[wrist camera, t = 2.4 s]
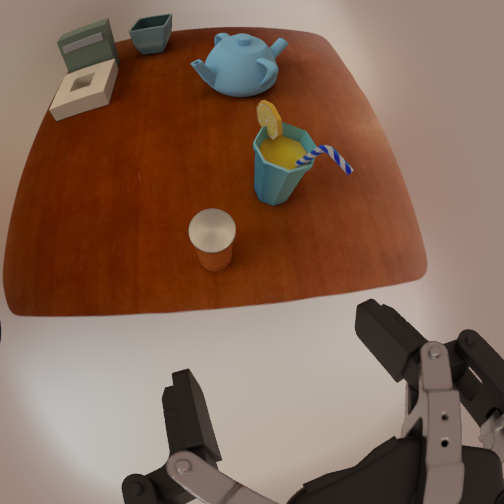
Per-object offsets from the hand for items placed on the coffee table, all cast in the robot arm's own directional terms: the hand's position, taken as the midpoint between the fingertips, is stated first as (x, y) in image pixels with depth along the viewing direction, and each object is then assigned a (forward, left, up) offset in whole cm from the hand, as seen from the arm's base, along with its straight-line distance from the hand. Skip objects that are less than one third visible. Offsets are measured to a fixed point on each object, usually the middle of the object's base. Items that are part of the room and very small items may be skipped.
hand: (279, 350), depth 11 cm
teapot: (+7, +47, -23) cm, 53 cm away
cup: (+8, +19, -23) cm, 31 cm away
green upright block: (-27, +62, -23) cm, 71 cm away
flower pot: (-12, +66, -23) cm, 71 cm away
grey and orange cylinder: (-2, +11, -23) cm, 26 cm away
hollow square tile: (-27, +52, -23) cm, 63 cm away
